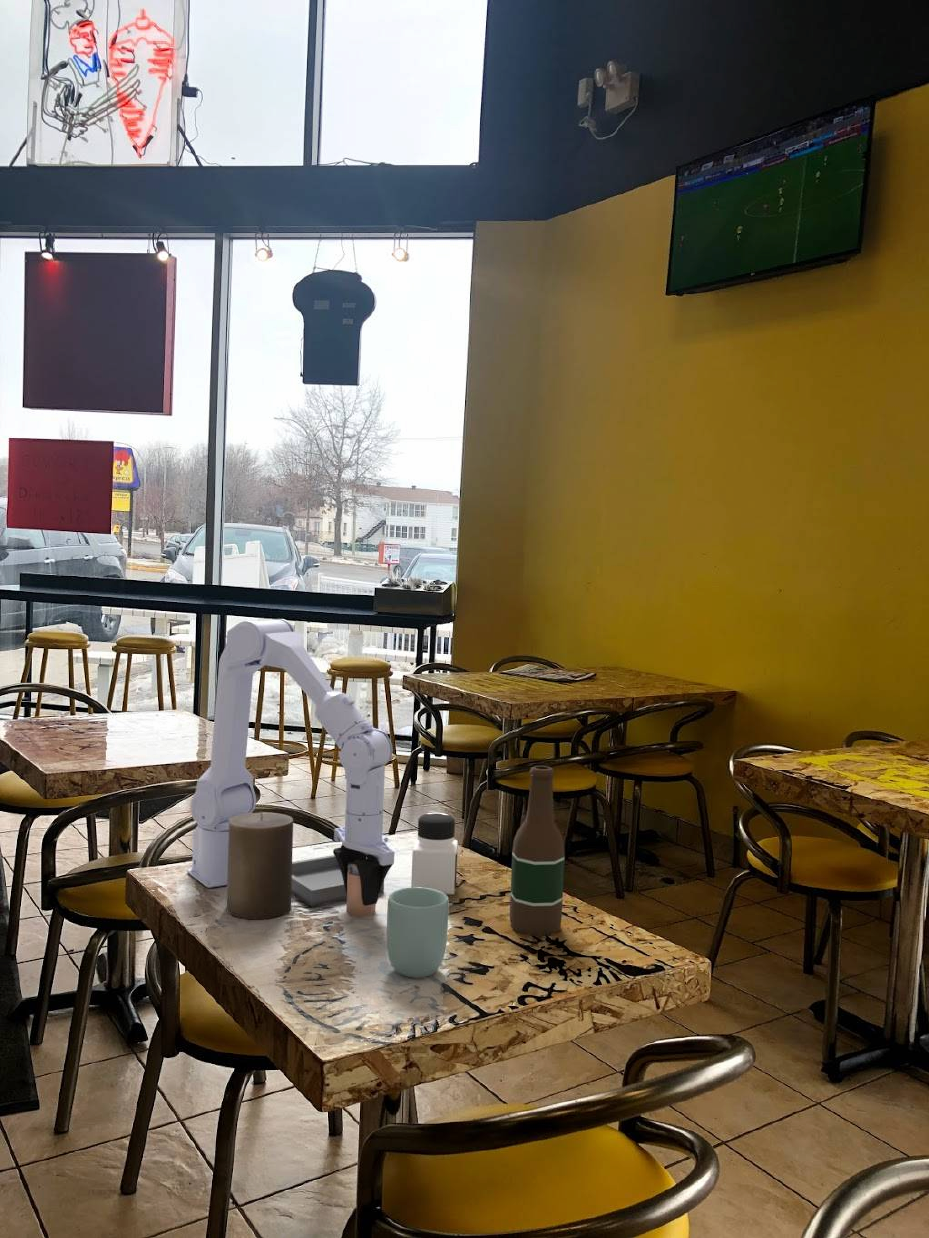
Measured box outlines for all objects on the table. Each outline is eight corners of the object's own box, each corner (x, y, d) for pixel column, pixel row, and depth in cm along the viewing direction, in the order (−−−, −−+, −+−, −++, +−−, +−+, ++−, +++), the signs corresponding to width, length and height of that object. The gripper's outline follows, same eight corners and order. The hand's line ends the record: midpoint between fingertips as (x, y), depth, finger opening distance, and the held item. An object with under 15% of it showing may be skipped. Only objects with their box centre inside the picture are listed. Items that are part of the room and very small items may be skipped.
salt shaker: (341, 909, 152) (342, 861, 151) (365, 904, 154) (367, 856, 154) (355, 918, 148) (357, 869, 148) (380, 913, 151) (382, 864, 150)
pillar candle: (290, 919, 147) (294, 819, 146) (222, 920, 145) (226, 819, 145) (291, 897, 156) (294, 803, 156) (228, 898, 155) (231, 803, 154)
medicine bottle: (455, 895, 160) (458, 822, 159) (410, 893, 160) (413, 820, 159) (456, 880, 167) (459, 810, 166) (413, 879, 167) (416, 808, 167)
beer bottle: (558, 939, 143) (566, 775, 142) (505, 933, 145) (512, 770, 143) (563, 920, 151) (571, 764, 149) (513, 914, 152) (519, 760, 151)
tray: (271, 880, 164) (271, 865, 164) (340, 868, 171) (341, 853, 171) (311, 906, 152) (312, 890, 152) (383, 892, 160) (384, 876, 160)
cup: (413, 954, 136) (416, 882, 135) (457, 971, 131) (460, 897, 130) (373, 971, 130) (376, 896, 129) (418, 989, 125) (421, 912, 124)
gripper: (412, 818, 147) (409, 908, 148) (362, 797, 159) (359, 880, 159) (372, 825, 143) (368, 917, 144) (323, 802, 154) (320, 888, 155)
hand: (361, 898), depth 151 cm, fingers open, 4 cm apart
